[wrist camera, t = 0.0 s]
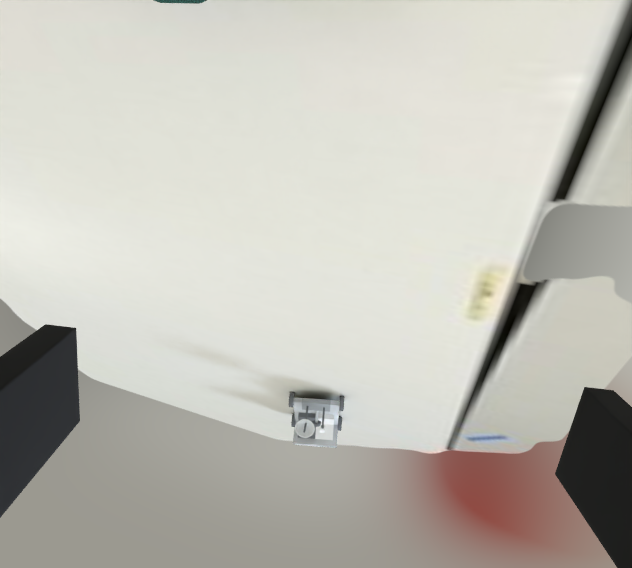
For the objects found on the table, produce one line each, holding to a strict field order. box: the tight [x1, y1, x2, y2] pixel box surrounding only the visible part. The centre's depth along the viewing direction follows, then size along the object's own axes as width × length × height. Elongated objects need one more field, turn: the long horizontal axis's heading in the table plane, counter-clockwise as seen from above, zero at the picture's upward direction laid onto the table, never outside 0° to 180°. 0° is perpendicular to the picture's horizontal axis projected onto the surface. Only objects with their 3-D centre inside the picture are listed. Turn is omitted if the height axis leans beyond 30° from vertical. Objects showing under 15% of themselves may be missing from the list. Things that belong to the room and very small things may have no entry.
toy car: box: [289, 393, 344, 448], centre depth 104 cm, size 18×10×12 cm
